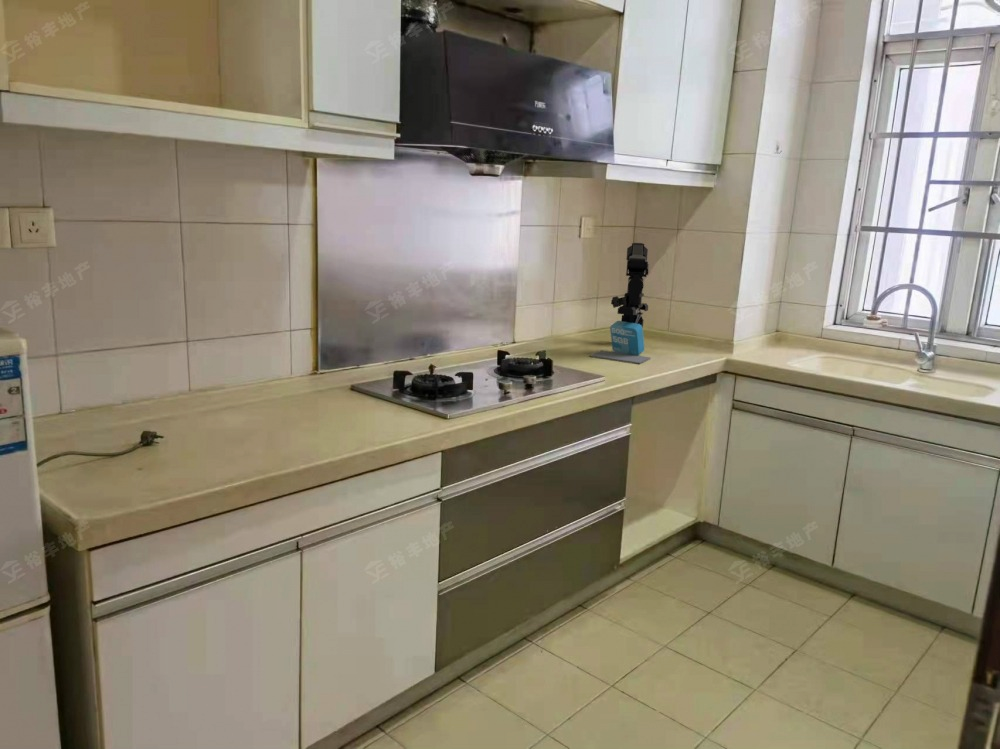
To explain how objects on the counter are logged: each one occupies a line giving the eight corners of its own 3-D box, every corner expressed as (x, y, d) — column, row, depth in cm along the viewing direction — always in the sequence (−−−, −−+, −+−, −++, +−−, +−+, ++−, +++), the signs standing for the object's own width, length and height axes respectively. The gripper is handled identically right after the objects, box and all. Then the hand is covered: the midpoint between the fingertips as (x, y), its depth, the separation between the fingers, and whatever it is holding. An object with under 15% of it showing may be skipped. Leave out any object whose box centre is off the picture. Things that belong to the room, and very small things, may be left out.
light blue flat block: (612, 352, 296) (609, 324, 290) (618, 347, 299) (615, 319, 293) (639, 357, 288) (636, 329, 283) (644, 352, 291) (642, 324, 286)
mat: (601, 351, 295) (601, 350, 295) (650, 359, 286) (650, 357, 286) (589, 356, 285) (589, 355, 285) (639, 364, 276) (640, 362, 276)
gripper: (623, 286, 300) (620, 325, 304) (606, 290, 284) (603, 331, 288) (650, 289, 295) (646, 328, 298) (634, 293, 279) (630, 334, 282)
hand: (631, 330), depth 292 cm, fingers closed
